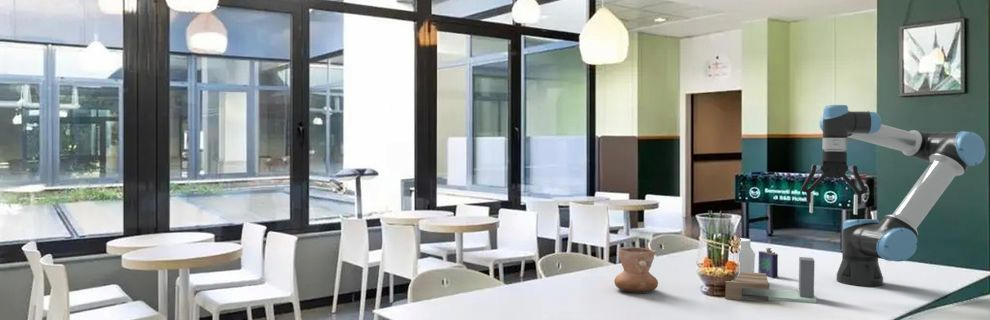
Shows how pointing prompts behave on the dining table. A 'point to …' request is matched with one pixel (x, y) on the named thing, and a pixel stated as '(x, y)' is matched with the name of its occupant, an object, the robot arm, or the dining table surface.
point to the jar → (746, 257)
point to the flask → (768, 263)
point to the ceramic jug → (636, 270)
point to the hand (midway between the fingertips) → (833, 213)
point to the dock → (746, 286)
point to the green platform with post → (802, 295)
